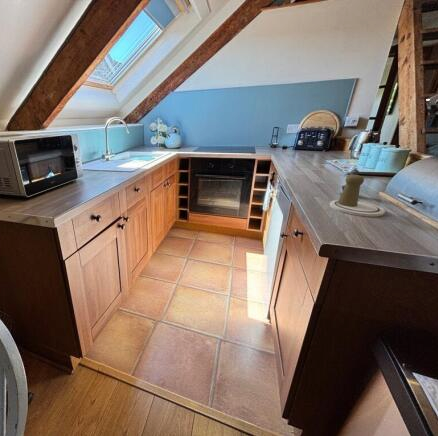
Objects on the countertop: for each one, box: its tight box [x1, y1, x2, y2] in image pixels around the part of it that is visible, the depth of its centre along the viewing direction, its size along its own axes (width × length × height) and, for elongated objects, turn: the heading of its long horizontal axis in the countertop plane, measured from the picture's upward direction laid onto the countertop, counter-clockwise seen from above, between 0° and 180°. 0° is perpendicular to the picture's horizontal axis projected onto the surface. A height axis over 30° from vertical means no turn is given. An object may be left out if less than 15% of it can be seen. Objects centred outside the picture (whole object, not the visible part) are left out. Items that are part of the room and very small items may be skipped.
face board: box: [329, 199, 386, 218], centre depth 91 cm, size 16×16×1 cm
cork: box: [337, 174, 365, 207], centre depth 90 cm, size 6×6×11 cm
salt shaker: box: [340, 167, 360, 195], centre depth 104 cm, size 6×6×12 cm
